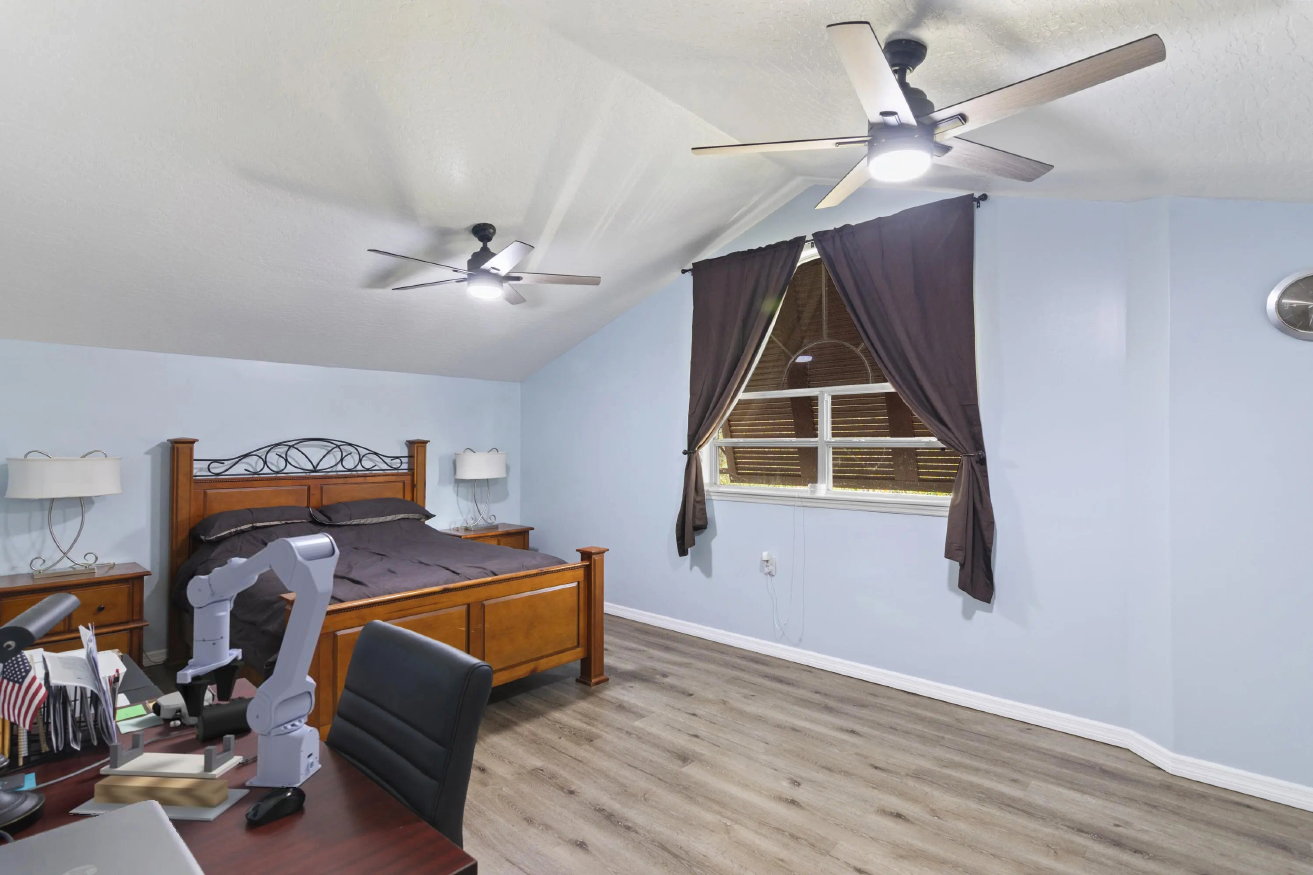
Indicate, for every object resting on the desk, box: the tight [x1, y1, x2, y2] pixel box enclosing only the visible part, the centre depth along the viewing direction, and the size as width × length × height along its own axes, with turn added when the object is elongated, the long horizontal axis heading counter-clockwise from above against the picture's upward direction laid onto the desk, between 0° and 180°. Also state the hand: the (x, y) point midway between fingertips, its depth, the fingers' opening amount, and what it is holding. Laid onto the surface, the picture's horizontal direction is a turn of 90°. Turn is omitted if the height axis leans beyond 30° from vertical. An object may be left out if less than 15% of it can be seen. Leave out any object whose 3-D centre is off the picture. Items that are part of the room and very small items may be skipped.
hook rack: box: [99, 731, 243, 780], centre depth 124 cm, size 22×7×5 cm, turn 86°
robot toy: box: [145, 685, 224, 728], centre depth 147 cm, size 12×4×15 cm
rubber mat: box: [68, 788, 250, 821], centre depth 112 cm, size 24×9×1 cm, turn 86°
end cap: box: [193, 695, 255, 744], centre depth 138 cm, size 10×7×7 cm
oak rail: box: [93, 774, 229, 808], centre depth 112 cm, size 21×3×3 cm, turn 86°
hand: (210, 708), depth 128 cm, fingers open, 7 cm apart
